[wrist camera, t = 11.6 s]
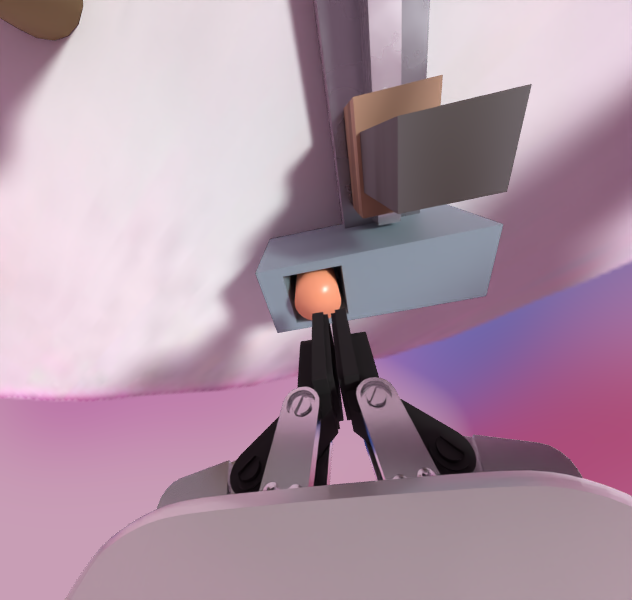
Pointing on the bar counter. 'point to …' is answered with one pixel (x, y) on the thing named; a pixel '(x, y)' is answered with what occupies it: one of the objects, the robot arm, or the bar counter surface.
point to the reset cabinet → (384, 264)
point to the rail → (350, 79)
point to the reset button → (317, 293)
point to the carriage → (430, 146)
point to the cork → (42, 16)
